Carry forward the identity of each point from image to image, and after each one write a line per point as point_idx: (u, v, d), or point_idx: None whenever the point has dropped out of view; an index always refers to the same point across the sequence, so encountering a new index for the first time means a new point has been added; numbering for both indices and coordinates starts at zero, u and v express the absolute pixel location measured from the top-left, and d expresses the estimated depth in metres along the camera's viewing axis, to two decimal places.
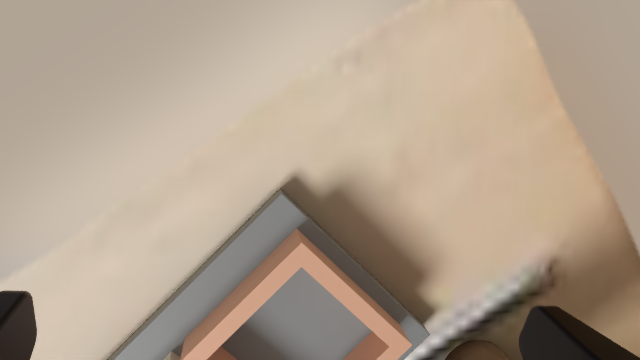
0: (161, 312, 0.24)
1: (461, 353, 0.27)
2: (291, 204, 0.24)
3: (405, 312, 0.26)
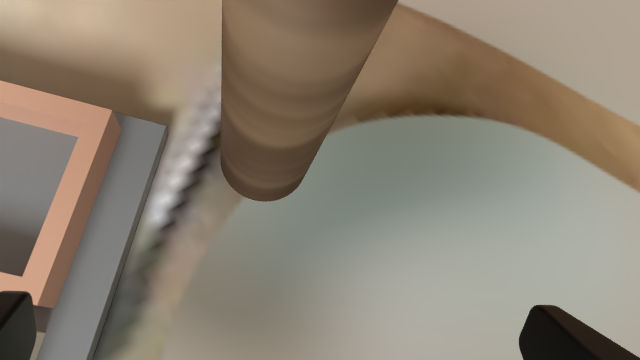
0: None
1: None
2: None
3: (121, 115, 0.22)
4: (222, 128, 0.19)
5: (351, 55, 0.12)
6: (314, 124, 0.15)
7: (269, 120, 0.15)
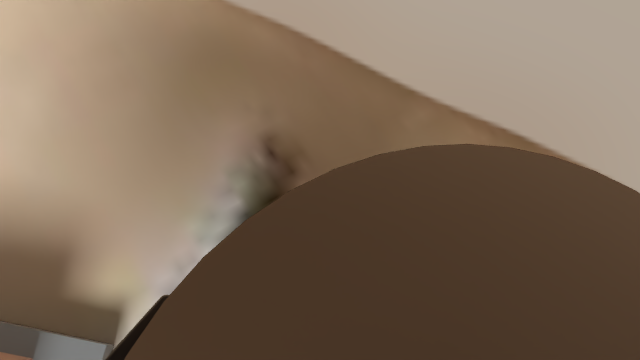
0: None
1: None
2: None
3: (33, 331, 0.14)
4: None
5: None
6: None
7: None
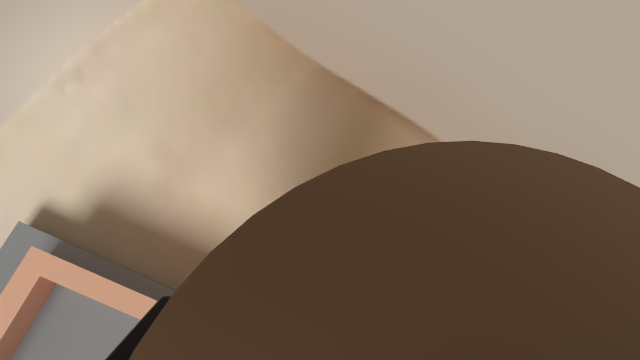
0: None
1: None
2: (34, 229, 0.20)
3: None
4: None
5: None
6: None
7: None
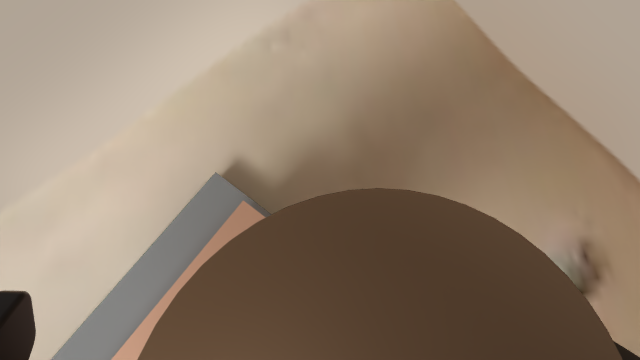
0: None
1: None
2: (230, 184, 0.18)
3: None
4: None
5: None
6: None
7: None
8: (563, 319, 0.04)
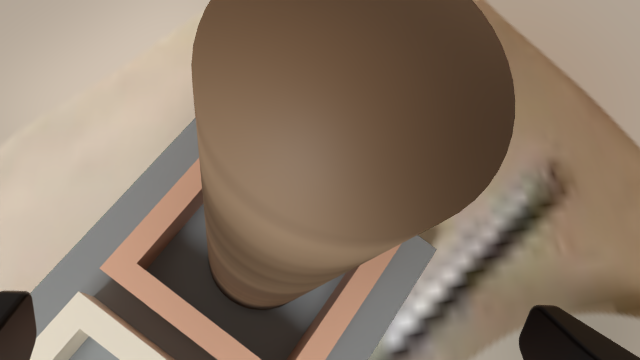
0: (80, 241, 0.18)
1: None
2: None
3: None
4: None
5: None
6: None
7: (270, 281, 0.10)
8: (464, 18, 0.07)
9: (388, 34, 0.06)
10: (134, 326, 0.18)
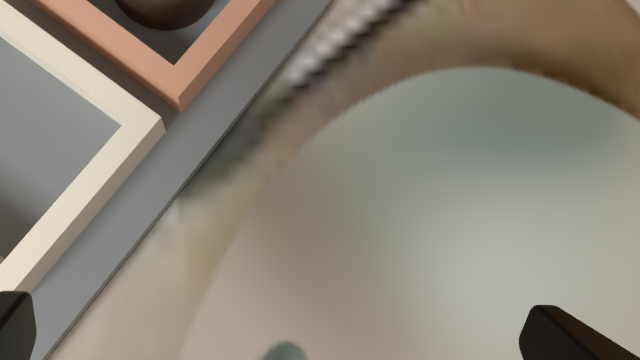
0: None
1: None
2: None
3: None
4: None
5: None
6: None
7: None
8: None
9: None
10: None
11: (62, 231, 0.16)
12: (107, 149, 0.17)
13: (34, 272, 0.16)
